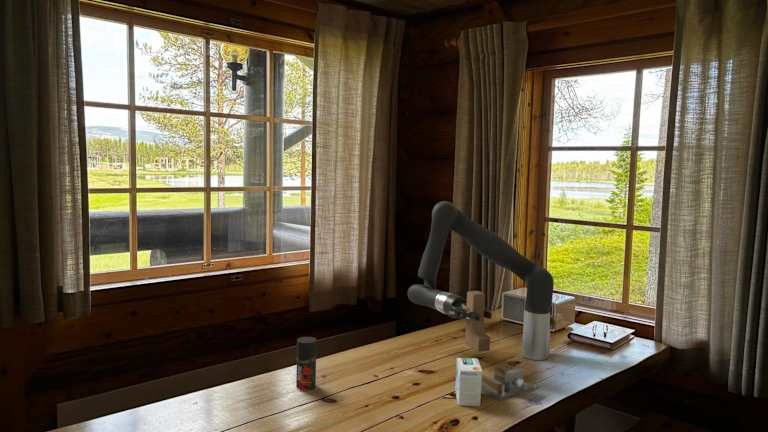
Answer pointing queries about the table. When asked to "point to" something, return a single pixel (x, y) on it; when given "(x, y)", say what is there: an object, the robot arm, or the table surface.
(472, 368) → the light bulb box
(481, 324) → the wooden block
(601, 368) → the table surface
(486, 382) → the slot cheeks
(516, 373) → the shaft bed
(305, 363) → the deodorant
